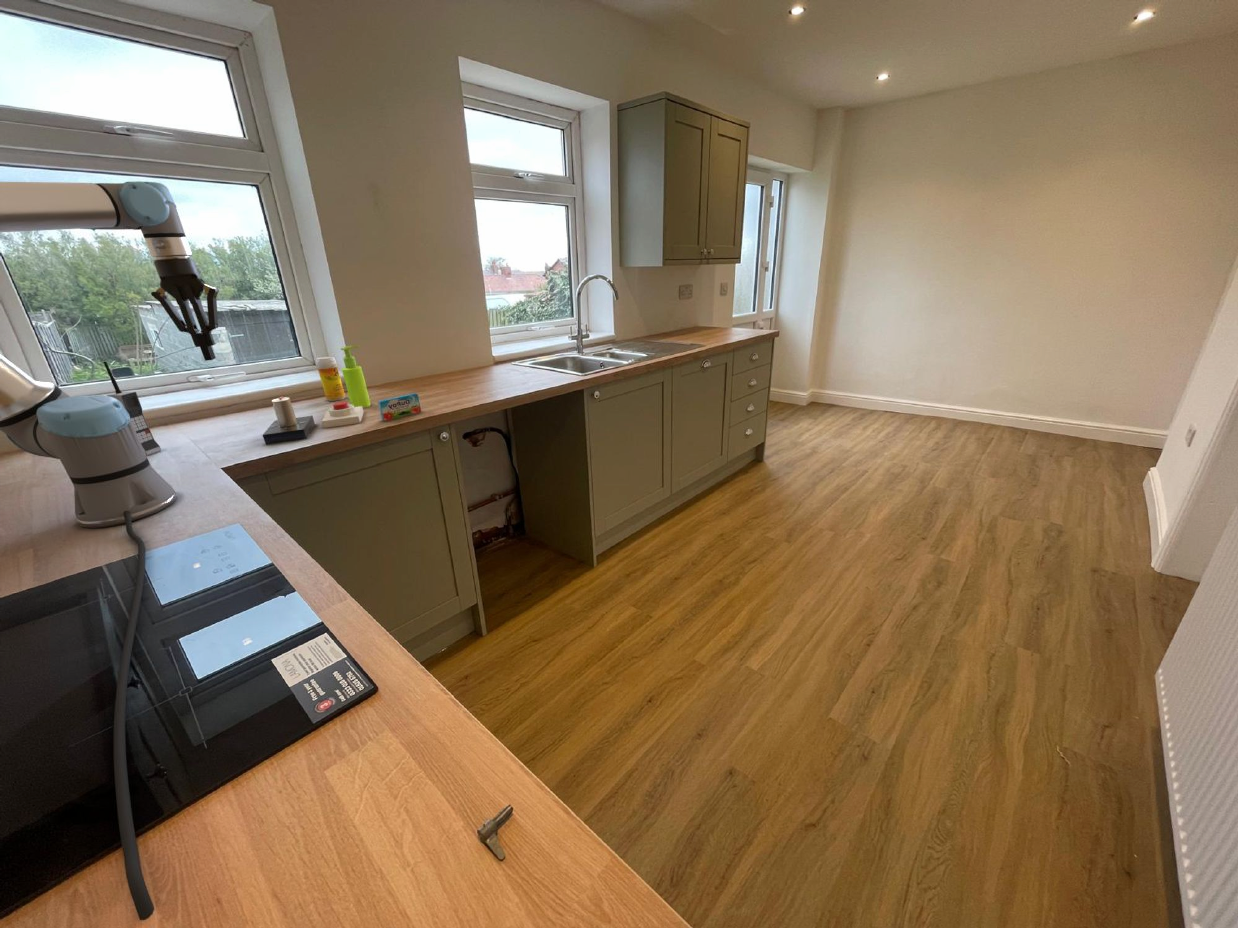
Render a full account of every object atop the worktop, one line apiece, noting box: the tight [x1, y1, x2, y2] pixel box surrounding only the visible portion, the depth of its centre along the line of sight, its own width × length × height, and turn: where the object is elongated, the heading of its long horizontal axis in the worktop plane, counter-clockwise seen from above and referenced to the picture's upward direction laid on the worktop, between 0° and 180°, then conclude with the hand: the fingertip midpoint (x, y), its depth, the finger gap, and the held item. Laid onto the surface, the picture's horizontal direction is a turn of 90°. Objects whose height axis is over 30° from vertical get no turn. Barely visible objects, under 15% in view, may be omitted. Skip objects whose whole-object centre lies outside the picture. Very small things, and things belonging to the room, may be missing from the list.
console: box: [262, 415, 316, 446], centre depth 145 cm, size 14×10×3 cm
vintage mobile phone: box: [102, 361, 162, 456], centre depth 132 cm, size 4×5×25 cm
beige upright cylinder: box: [271, 396, 297, 427], centre depth 143 cm, size 4×4×8 cm
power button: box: [332, 401, 349, 410], centre depth 155 cm, size 4×4×2 cm
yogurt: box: [377, 392, 422, 422], centre depth 156 cm, size 12×2×6 cm, turn 136°
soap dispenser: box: [340, 345, 372, 409], centre depth 167 cm, size 6×7×20 cm
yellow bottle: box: [315, 355, 346, 402], centre depth 178 cm, size 6×6×15 cm
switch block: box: [321, 404, 364, 429], centre depth 156 cm, size 12×10×4 cm
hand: (210, 359), depth 126 cm, fingers closed
